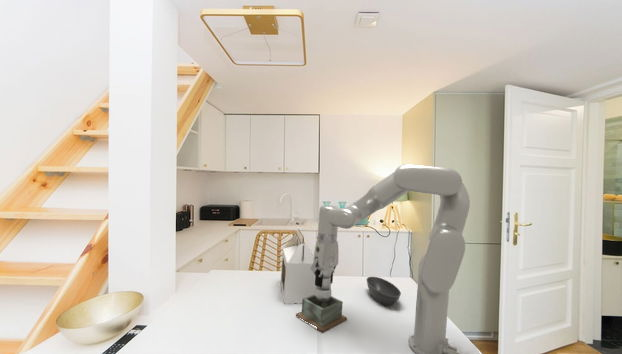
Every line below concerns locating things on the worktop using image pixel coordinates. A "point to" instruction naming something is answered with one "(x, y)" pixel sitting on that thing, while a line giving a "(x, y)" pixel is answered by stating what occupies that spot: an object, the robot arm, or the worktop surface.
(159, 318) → the worktop surface
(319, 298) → the silver bottle
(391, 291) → the bowl
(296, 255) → the gable box
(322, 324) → the bottle holder
